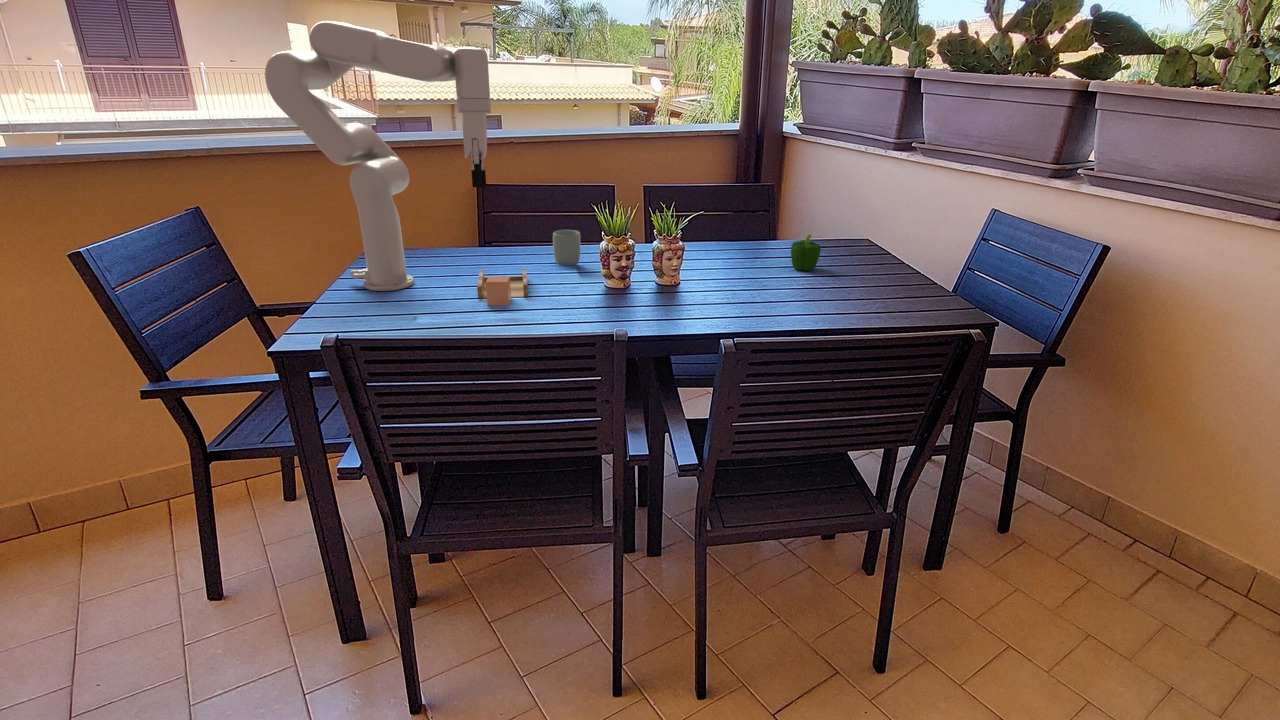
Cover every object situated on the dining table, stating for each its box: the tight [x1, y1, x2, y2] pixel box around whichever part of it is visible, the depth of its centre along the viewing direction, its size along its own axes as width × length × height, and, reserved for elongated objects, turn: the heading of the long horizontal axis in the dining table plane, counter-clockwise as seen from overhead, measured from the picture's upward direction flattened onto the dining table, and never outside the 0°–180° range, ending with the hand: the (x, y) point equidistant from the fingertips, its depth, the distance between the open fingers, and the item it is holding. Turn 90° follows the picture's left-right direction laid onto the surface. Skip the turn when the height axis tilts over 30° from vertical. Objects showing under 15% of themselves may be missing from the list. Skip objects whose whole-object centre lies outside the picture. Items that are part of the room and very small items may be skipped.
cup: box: [552, 229, 581, 267], centre depth 190 cm, size 8×8×10 cm
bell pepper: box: [790, 234, 822, 272], centre depth 192 cm, size 8×8×10 cm
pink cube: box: [486, 275, 512, 306], centre depth 156 cm, size 5×5×6 cm
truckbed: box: [476, 268, 529, 299], centre depth 167 cm, size 15×12×4 cm
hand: (479, 186), depth 160 cm, fingers closed
